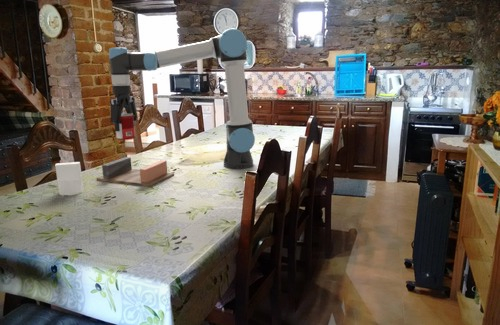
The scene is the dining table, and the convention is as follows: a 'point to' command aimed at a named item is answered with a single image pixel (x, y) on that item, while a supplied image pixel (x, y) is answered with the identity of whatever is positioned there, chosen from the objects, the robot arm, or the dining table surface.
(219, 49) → the robot arm
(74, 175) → the white upright block
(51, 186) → the dining table surface
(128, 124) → the canned food
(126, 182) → the vise base
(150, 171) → the block
